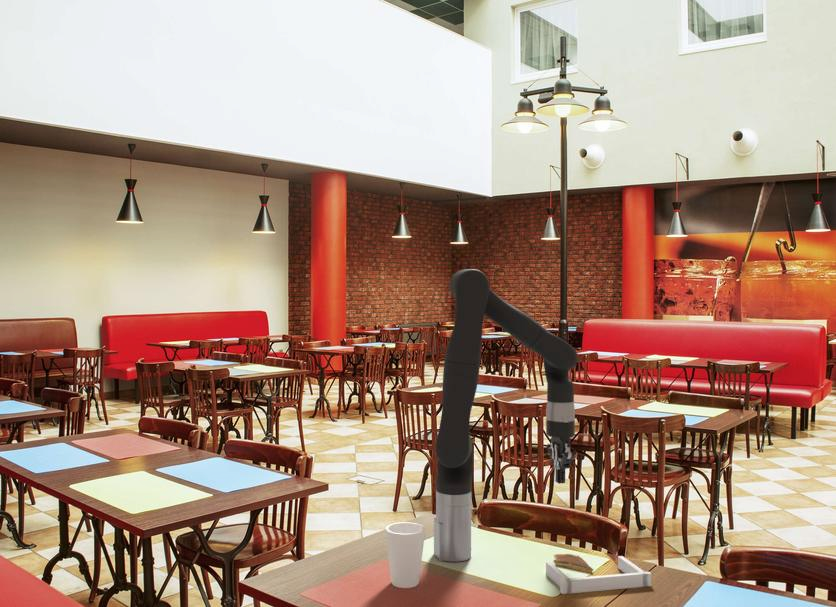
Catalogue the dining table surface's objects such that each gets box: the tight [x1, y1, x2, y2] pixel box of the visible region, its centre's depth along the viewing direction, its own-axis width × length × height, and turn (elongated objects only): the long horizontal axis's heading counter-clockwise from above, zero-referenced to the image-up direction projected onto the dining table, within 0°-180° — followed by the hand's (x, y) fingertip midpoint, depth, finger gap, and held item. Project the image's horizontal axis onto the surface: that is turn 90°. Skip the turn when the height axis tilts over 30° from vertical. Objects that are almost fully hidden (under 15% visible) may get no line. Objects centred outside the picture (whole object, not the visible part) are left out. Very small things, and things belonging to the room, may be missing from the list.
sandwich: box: [553, 553, 594, 574], centre depth 187 cm, size 11×8×2 cm
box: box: [545, 555, 652, 595], centre depth 178 cm, size 22×12×3 cm, turn 103°
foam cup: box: [385, 521, 426, 589], centre depth 176 cm, size 10×9×13 cm
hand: (560, 482), depth 198 cm, fingers closed
